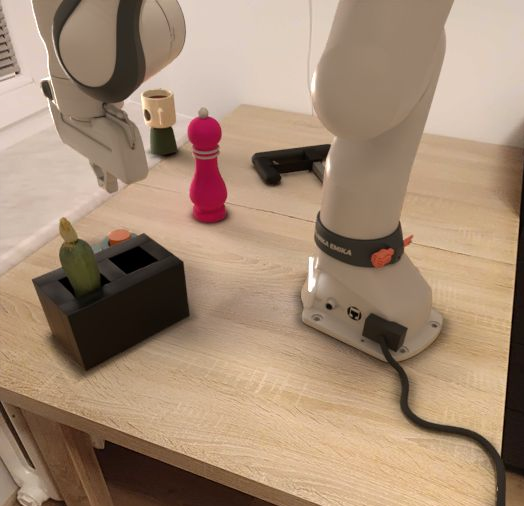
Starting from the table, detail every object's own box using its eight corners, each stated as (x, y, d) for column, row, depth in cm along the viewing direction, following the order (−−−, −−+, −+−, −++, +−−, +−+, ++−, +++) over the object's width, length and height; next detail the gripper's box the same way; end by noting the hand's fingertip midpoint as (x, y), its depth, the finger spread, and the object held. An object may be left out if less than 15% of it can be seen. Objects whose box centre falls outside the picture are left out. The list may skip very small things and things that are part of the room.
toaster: (189, 316, 76) (183, 261, 69) (86, 371, 68) (67, 316, 61) (153, 286, 82) (143, 232, 75) (52, 334, 73) (31, 279, 66)
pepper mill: (222, 226, 95) (218, 117, 81) (186, 221, 96) (175, 113, 82) (232, 207, 100) (229, 102, 86) (197, 203, 101) (188, 98, 87)
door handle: (359, 172, 107) (329, 138, 117) (271, 184, 103) (248, 148, 113) (357, 186, 110) (328, 152, 120) (271, 198, 105) (248, 162, 115)
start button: (136, 244, 84) (134, 235, 83) (117, 252, 82) (115, 243, 81) (124, 235, 86) (123, 226, 84) (106, 243, 84) (104, 234, 83)
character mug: (146, 144, 122) (138, 86, 113) (176, 141, 123) (170, 84, 114) (151, 163, 114) (143, 103, 105) (182, 160, 116) (177, 100, 107)
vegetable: (90, 325, 75) (52, 202, 61) (118, 326, 74) (88, 203, 60) (81, 346, 71) (40, 221, 57) (111, 347, 71) (77, 222, 57)
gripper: (152, 109, 64) (164, 208, 73) (74, 70, 74) (94, 161, 84) (108, 121, 60) (127, 222, 70) (33, 79, 71) (59, 172, 81)
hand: (108, 189), depth 77 cm, fingers closed
